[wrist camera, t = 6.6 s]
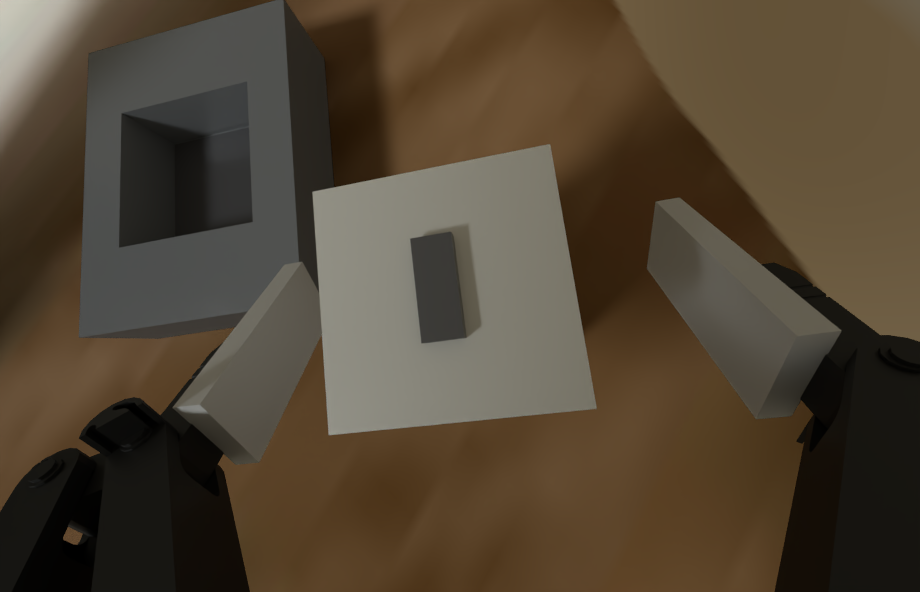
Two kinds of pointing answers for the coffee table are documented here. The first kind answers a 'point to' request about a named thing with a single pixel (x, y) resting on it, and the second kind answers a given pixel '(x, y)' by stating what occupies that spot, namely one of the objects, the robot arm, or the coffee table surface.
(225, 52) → the block
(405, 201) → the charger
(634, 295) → the coffee table surface
